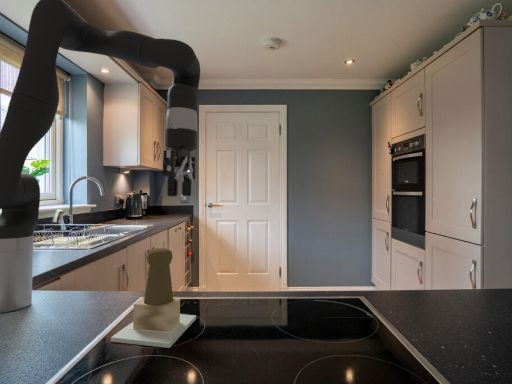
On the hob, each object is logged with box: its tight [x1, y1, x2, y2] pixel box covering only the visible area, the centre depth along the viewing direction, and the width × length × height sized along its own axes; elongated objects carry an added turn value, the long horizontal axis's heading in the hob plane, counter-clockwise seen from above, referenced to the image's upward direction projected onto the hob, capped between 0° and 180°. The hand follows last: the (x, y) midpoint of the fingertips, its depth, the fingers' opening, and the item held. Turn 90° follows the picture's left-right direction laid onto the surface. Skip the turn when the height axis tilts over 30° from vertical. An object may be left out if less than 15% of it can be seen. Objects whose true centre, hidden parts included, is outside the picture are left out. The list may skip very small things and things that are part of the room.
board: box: [110, 313, 197, 349], centre depth 66 cm, size 12×14×1 cm
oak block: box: [132, 297, 181, 332], centre depth 66 cm, size 8×5×5 cm, turn 82°
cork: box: [143, 247, 174, 305], centre depth 67 cm, size 6×6×11 cm
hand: (179, 196), depth 77 cm, fingers open, 8 cm apart
